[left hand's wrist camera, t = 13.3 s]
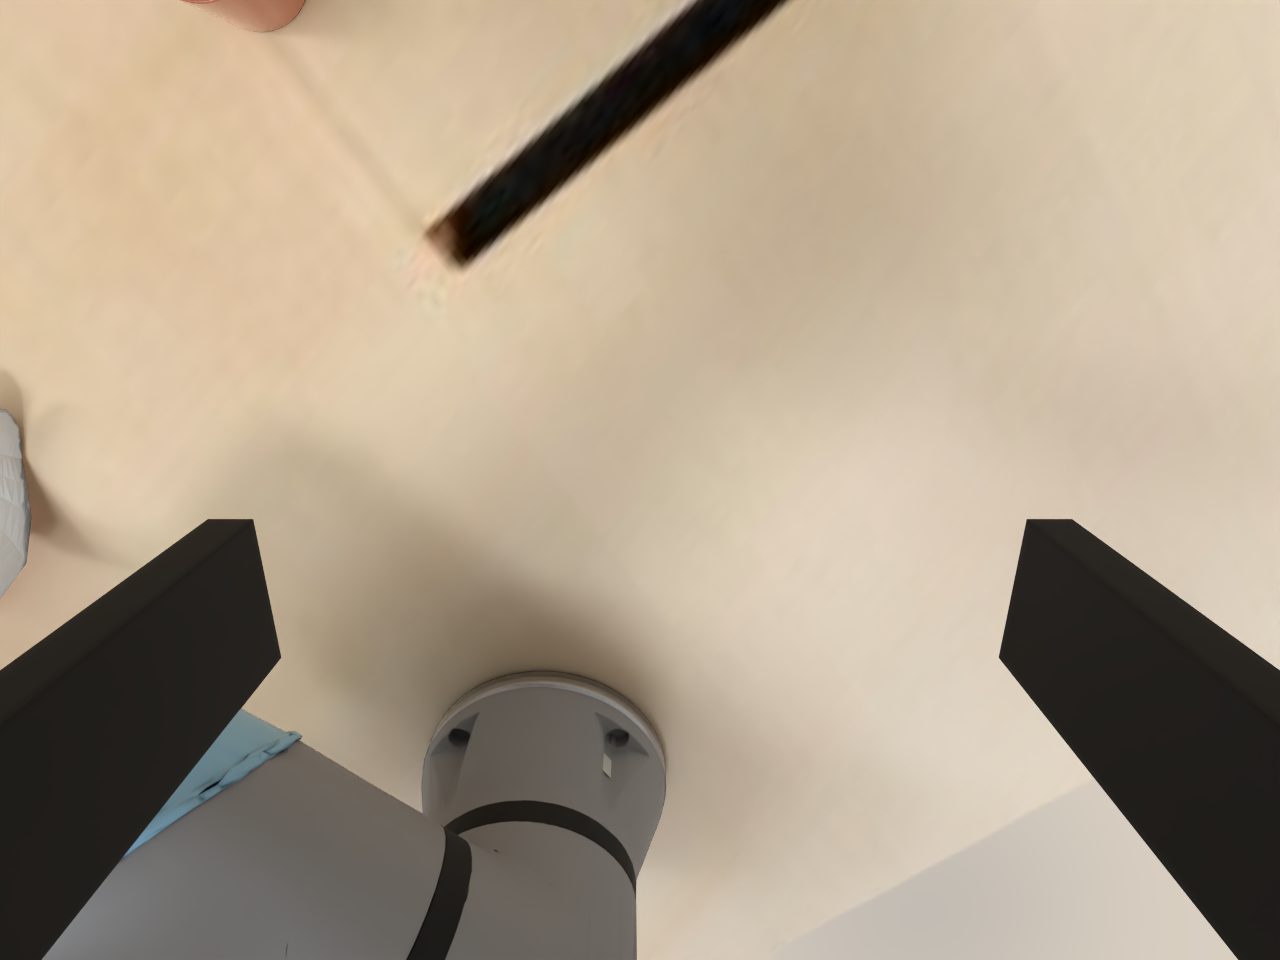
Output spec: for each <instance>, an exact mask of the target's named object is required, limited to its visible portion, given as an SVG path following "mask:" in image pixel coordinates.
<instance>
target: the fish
mask: <svg viewBox="0 0 1280 960" xmlns="http://www.w3.org/2000/svg"><path fill="white" fill-rule="evenodd" d="M30 525H31V512H30V504H29V497H28V490H27V484H26V478H25V472H24V467H23V461H22V441H21V436H20V432H19V427H18V425H17V423H16V421H15V419H14V417H13V416H12V415H11V414H10V413H9V412H8V411H7V410H4V409H0V598H1V597H2V596H3V594H4V593H5V592H6V590H7V589H8V587H9V586H10V585H11V583H12V582H13V581H14V579H15V578H16V577H17V575H18V574H19V572H20V571H21V570H22V568H23V567H24V566H25V564H26V560H27V552H28V543H29V534H30Z"/></svg>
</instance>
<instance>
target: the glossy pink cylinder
mask: <svg viewBox="0 0 1280 960" xmlns="http://www.w3.org/2000/svg"><path fill="white" fill-rule="evenodd" d="M180 1H182V2H184V3H187V4H189V5H191V6H193V7H196V8H198V9H200V10H202V11H205V12H207V13H209V14H211V15H214V16H216V17H218V18H220V19H223V20H225V21H227V22H229V23H232V24H234V25H236V26H238V27H241V28H244V29H246V30H251V31H256V32H267V31H272V30H276V29H279V28H281V27H283V26H285V25H286V24H288V23H289V22H290V21H291V20H293V19H294V18H295V16H296V15H297V14H298V13H299V11H300V10H301V8H302V6H303V4H304V2H305V0H180Z"/></svg>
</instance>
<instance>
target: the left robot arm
mask: <svg viewBox="0 0 1280 960" xmlns="http://www.w3.org/2000/svg"><path fill="white" fill-rule="evenodd" d="M280 658H281V654H280V649H279V644H278V640H277V635H276V630H275V625H274V620H273V615H272V610H271V605H270V600H269V595H268V590H267V585H266V580H265V575H264V571H263V566H262V561H261V556H260V551H259V546H258V541H257V536H256V531H255V526H254V521H253V519H208V520H206V521H205V522H204V523H202V524H201V525H199V526H198V527H197V528H195V529H194V530H193V531H191V532H190V533H188V534H187V535H186V536H184V537H183V538H182V539H180V540H179V541H177V542H176V543H175V544H173V545H172V546H171V547H169V548H168V549H166V550H165V551H164V552H162V553H161V554H160V555H158V556H157V557H155V558H154V559H153V560H151V561H150V562H149V563H147V564H146V565H144V566H143V567H142V568H140V569H139V570H138V571H136V572H135V573H133V574H132V575H131V576H129V577H128V578H127V579H125V580H124V581H123V582H121V583H120V584H118V585H117V586H116V587H114V588H113V589H112V590H110V591H109V592H107V593H106V594H105V595H103V596H102V597H101V598H99V599H98V600H96V601H95V602H94V603H92V604H91V605H90V606H88V607H87V608H85V609H84V610H83V611H81V612H80V613H79V614H77V615H76V616H74V617H73V618H72V619H70V620H69V621H68V622H66V623H65V624H63V625H62V626H61V627H59V628H58V629H57V630H55V631H54V632H52V633H51V634H50V635H48V636H47V637H46V638H44V639H43V640H41V641H40V642H39V643H37V644H36V645H35V646H33V647H32V648H30V649H29V650H28V651H26V652H25V653H24V654H22V655H21V656H19V657H18V658H17V659H15V660H14V661H13V662H11V663H10V664H8V665H7V666H6V667H4V668H3V669H2V670H0V960H637V942H636V879H637V877H638V874H639V872H640V869H641V867H642V864H643V861H644V859H645V856H646V854H647V851H648V849H649V846H650V843H651V841H652V838H653V836H654V833H655V831H656V828H657V825H658V823H659V820H660V817H661V814H662V809H663V805H664V800H665V793H666V779H665V760H664V754H663V750H662V747H661V743H660V741H659V739H658V736H657V734H656V732H655V731H654V729H653V727H652V725H651V724H650V723H649V721H648V720H647V718H646V717H645V716H644V715H643V714H642V713H641V711H640V710H639V709H638V708H637V707H636V706H634V705H633V704H632V703H631V702H630V701H629V700H627V699H626V698H625V697H623V696H622V695H621V694H619V693H617V692H616V691H614V690H612V689H611V688H609V687H607V686H605V685H603V684H601V683H598V682H595V681H593V680H590V679H587V678H584V677H580V676H577V675H572V674H567V673H560V672H548V671H536V672H524V673H516V674H512V675H507V676H503V677H500V678H497V679H494V680H491V681H489V682H487V683H484V684H482V685H480V686H478V687H476V688H475V689H473V690H471V691H470V692H468V693H467V694H465V695H464V696H463V697H462V698H460V699H459V700H458V701H457V702H456V703H455V704H454V705H453V706H452V707H451V708H450V709H449V710H448V711H447V712H446V714H445V715H444V716H443V718H442V719H441V721H440V723H439V724H438V726H437V728H436V730H435V733H434V735H433V737H432V740H431V743H430V745H429V748H428V750H427V753H426V757H425V760H424V765H423V774H422V807H423V814H422V813H420V812H419V811H417V810H415V809H414V808H412V807H410V806H408V805H407V804H405V803H403V802H401V801H400V800H398V799H396V798H394V797H393V796H391V795H389V794H388V793H386V792H384V791H382V790H381V789H379V788H377V787H375V786H374V785H372V784H370V783H369V782H367V781H365V780H364V779H362V778H360V777H359V776H357V775H355V774H354V773H352V772H350V771H349V770H347V769H345V768H344V767H342V766H341V765H339V764H337V763H336V762H334V761H332V760H331V759H329V758H327V757H326V756H324V755H322V754H321V753H319V752H317V751H316V750H314V749H312V748H311V747H309V746H308V745H306V744H304V743H303V742H301V741H299V740H300V739H301V738H302V737H303V736H302V735H300V734H299V733H297V732H295V731H290V732H285V731H283V730H281V729H279V728H277V727H275V726H273V725H272V724H270V723H268V722H266V721H264V720H262V719H260V718H258V717H256V716H254V715H252V714H250V713H248V712H246V711H244V710H243V709H241V708H242V706H243V705H244V704H245V703H246V701H247V700H248V699H249V698H250V696H251V695H252V694H253V692H254V691H255V690H256V689H257V687H258V686H259V685H260V684H261V682H262V681H263V680H264V679H265V677H266V676H267V675H268V674H269V672H270V671H271V670H272V668H273V667H274V666H275V665H276V663H277V662H278V661H279V660H280ZM999 658H1000V660H1001V661H1002V662H1003V663H1004V665H1005V666H1006V667H1007V668H1008V670H1009V671H1010V672H1011V674H1012V675H1013V676H1014V677H1015V679H1016V680H1017V681H1018V682H1019V684H1020V685H1021V686H1022V687H1023V689H1024V690H1025V691H1026V692H1027V694H1028V695H1029V696H1030V698H1031V699H1032V700H1033V701H1034V703H1035V704H1036V705H1037V706H1038V708H1039V709H1040V710H1041V711H1042V713H1043V714H1044V715H1045V716H1046V718H1047V719H1048V720H1049V721H1050V723H1051V724H1052V725H1053V727H1054V728H1055V729H1056V730H1057V732H1058V733H1059V734H1060V735H1061V737H1062V738H1063V739H1064V740H1065V742H1066V743H1067V744H1068V745H1069V747H1070V748H1071V749H1072V751H1073V752H1074V753H1075V754H1076V756H1077V757H1078V758H1079V759H1080V761H1081V762H1082V763H1083V764H1084V766H1085V767H1086V768H1087V769H1088V771H1089V772H1090V773H1091V774H1092V776H1093V777H1094V778H1095V780H1096V781H1097V782H1098V783H1099V785H1100V786H1101V787H1102V788H1103V790H1104V791H1105V792H1106V793H1107V795H1108V796H1109V797H1110V798H1111V800H1112V801H1113V802H1114V803H1115V805H1116V806H1117V807H1118V809H1119V810H1120V811H1121V812H1122V814H1123V815H1124V816H1125V817H1126V819H1127V820H1128V821H1129V822H1130V824H1131V825H1132V826H1133V827H1134V829H1135V830H1136V831H1137V832H1138V834H1139V835H1140V836H1141V838H1142V839H1143V840H1144V841H1145V842H1146V844H1147V845H1148V846H1149V848H1150V849H1151V850H1152V851H1153V853H1154V854H1155V855H1156V856H1157V858H1158V859H1159V860H1160V861H1161V863H1162V864H1163V865H1164V867H1165V868H1166V869H1167V870H1168V872H1169V873H1170V874H1171V875H1172V877H1173V878H1174V879H1175V880H1176V882H1177V883H1178V884H1179V886H1180V887H1181V888H1182V889H1183V891H1184V892H1185V893H1186V894H1187V896H1188V897H1189V898H1190V899H1191V901H1192V902H1193V903H1194V904H1195V906H1196V907H1197V908H1198V909H1199V911H1200V912H1201V913H1202V915H1203V916H1204V917H1205V918H1206V920H1207V921H1208V922H1209V923H1210V925H1211V926H1212V927H1213V928H1214V930H1215V931H1216V932H1217V933H1218V935H1219V936H1220V937H1221V939H1222V940H1223V941H1224V942H1225V944H1226V945H1227V946H1228V947H1229V949H1230V950H1231V951H1232V952H1233V954H1234V955H1235V956H1236V957H1237V959H1238V960H1280V670H1278V669H1277V668H1276V667H1274V666H1273V665H1272V664H1270V663H1269V662H1267V661H1266V660H1265V659H1263V658H1262V657H1261V656H1259V655H1258V654H1256V653H1255V652H1254V651H1252V650H1251V649H1250V648H1248V647H1247V646H1245V645H1244V644H1243V643H1241V642H1240V641H1239V640H1237V639H1236V638H1234V637H1233V636H1232V635H1230V634H1229V633H1228V632H1226V631H1225V630H1223V629H1222V628H1221V627H1219V626H1218V625H1217V624H1215V623H1214V622H1212V621H1211V620H1210V619H1208V618H1207V617H1206V616H1204V615H1203V614H1201V613H1200V612H1199V611H1197V610H1196V609H1195V608H1193V607H1192V606H1190V605H1189V604H1188V603H1186V602H1185V601H1184V600H1182V599H1181V598H1179V597H1178V596H1177V595H1175V594H1174V593H1173V592H1171V591H1170V590H1168V589H1167V588H1166V587H1164V586H1163V585H1162V584H1160V583H1159V582H1157V581H1156V580H1155V579H1153V578H1152V577H1151V576H1149V575H1148V574H1146V573H1145V572H1144V571H1142V570H1141V569H1140V568H1138V567H1137V566H1136V565H1134V564H1133V563H1131V562H1130V561H1129V560H1127V559H1126V558H1125V557H1123V556H1122V555H1120V554H1119V553H1118V552H1116V551H1115V550H1114V549H1112V548H1111V547H1109V546H1108V545H1107V544H1105V543H1104V542H1103V541H1101V540H1100V539H1098V538H1097V537H1096V536H1094V535H1093V534H1092V533H1090V532H1089V531H1087V530H1086V529H1085V528H1083V527H1082V526H1081V525H1079V524H1078V523H1076V522H1075V521H1074V520H1072V519H1027V521H1026V526H1025V531H1024V536H1023V541H1022V546H1021V551H1020V556H1019V561H1018V566H1017V571H1016V575H1015V580H1014V585H1013V590H1012V595H1011V600H1010V605H1009V610H1008V615H1007V620H1006V625H1005V630H1004V635H1003V640H1002V644H1001V649H1000V654H999Z"/></svg>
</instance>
